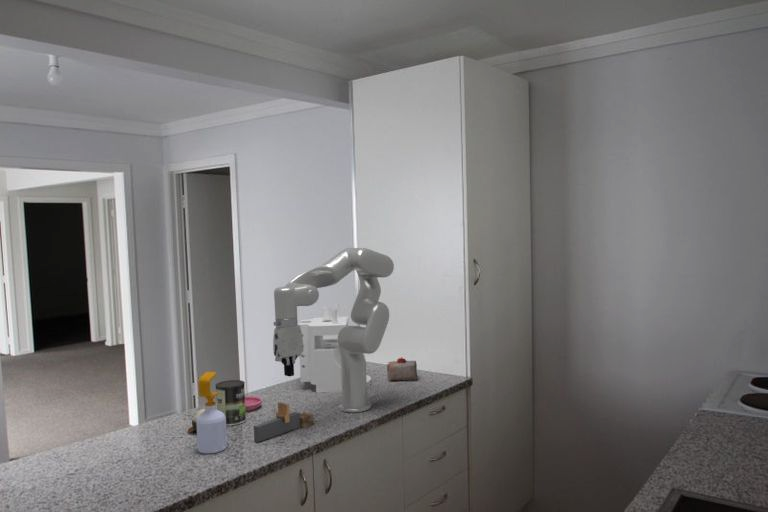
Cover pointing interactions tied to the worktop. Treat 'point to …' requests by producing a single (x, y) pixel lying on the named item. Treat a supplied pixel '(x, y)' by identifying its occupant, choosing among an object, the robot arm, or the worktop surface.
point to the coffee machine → (323, 351)
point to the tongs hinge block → (306, 420)
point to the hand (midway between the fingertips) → (289, 375)
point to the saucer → (252, 403)
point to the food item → (402, 370)
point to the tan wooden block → (283, 412)
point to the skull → (194, 428)
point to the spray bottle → (210, 420)
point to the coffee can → (231, 401)
